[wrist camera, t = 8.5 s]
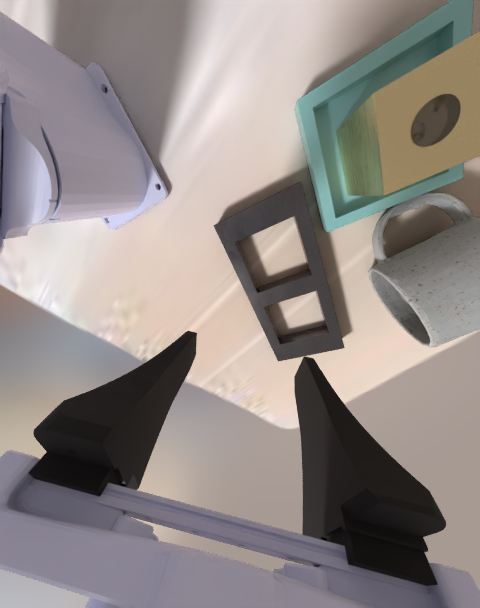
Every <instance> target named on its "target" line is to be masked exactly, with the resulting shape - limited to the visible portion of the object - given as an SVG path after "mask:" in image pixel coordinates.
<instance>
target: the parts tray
mask: <svg viewBox="0 0 480 608" xmlns="http://www.w3.org/2000/svg"><path fill="white" fill-rule="evenodd" d="M473 1H474V0H451V1H449V2H448V3H446V4H445V5H443V6H442V7H440V8H439V9H437V10H435V11H434V12H432V13H431V14H429V15H428V16H426V17H425V18H423V19H422V20H420V21H419V22H417V23H415V24H414V25H412V26H411V27H409V28H408V29H406V30H405V31H403V32H402V33H400V34H399V35H397V36H395V37H394V38H392V39H391V40H389V41H388V42H386V43H385V44H383V45H382V46H380V47H379V48H377V49H375V50H374V51H372V52H371V53H369V54H368V55H366V56H365V57H363V58H362V59H360V60H358V61H357V62H355V63H354V64H352V65H351V66H349V67H348V68H346V69H345V70H343V71H342V72H340V73H338V74H337V75H335V76H334V77H332V78H331V79H329V80H328V81H326V82H325V83H323V84H322V85H320V86H318V87H317V88H315V89H314V90H312V91H311V92H309V93H308V94H306V95H305V96H303V97H301V98H300V99H298V100H297V103H296V107H295V113H296V117H297V121H298V126H299V130H300V134H301V138H302V142H303V146H304V151H305V155H306V159H307V163H308V167H309V171H310V176H311V180H312V184H313V188H314V192H315V197H316V201H317V205H318V209H319V213H320V217H321V222H322V226H323V229H324V230H325V231H327V232H329V231H332V230H334V229H337V228H339V227H342V226H344V225H347V224H349V223H352V222H354V221H357V220H359V219H362V218H364V217H367V216H369V215H372V214H375V213H377V212H380V211H382V210H385V209H387V208H390V207H392V206H395V205H397V204H400V203H402V202H405V201H407V200H410V199H412V198H415V197H417V196H420V195H422V194H425V193H427V192H430V191H432V190H435V189H437V188H440V187H442V186H445V185H447V184H450V183H452V182H455V181H457V180H460V179H462V178H463V168H464V162H463V163H461V164H458V165H456V166H454V167H451V168H449V169H446V170H444V171H442V172H439V173H437V174H435V175H432V176H430V177H427V178H425V179H423V180H420V181H418V182H416V183H413V184H411V185H408V186H406V187H404V188H401V189H399V190H396V191H394V192H392V193H389V194H387V195H385V196H347V191H346V186H345V180H344V174H343V168H342V163H341V157H340V151H339V145H338V140H337V134H336V131H337V130H338V129H339V128H340V127H341V126H342V125H343V124H344V123H345V122H346V121H347V120H348V119H349V118H350V117H351V116H352V115H353V114H354V113H355V112H356V111H357V110H358V109H359V108H360V107H361V106H362V105H363V104H364V103H365V102H366V101H367V100H368V98H369V97H370V96H371V95H372V94H373V93H375V92H376V91H378V90H380V89H381V88H383V87H385V86H387V85H388V84H390V83H392V82H393V81H395V80H397V79H399V78H400V77H402V76H404V75H405V74H407V73H409V72H411V71H412V70H414V69H416V68H417V67H419V66H421V65H422V64H424V63H426V62H428V61H429V60H431V59H433V58H434V57H436V56H438V55H440V54H441V53H443V52H445V51H446V50H448V49H450V48H452V47H453V46H455V45H457V44H458V43H460V42H462V41H464V40H465V39H467V38H469V37H470V36H471V34H472V17H473Z"/></svg>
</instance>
